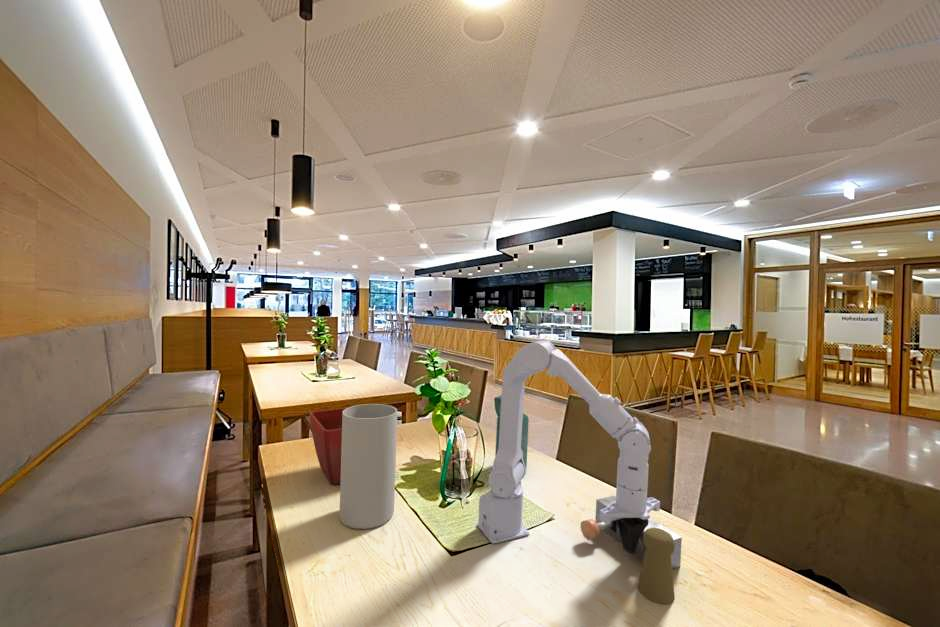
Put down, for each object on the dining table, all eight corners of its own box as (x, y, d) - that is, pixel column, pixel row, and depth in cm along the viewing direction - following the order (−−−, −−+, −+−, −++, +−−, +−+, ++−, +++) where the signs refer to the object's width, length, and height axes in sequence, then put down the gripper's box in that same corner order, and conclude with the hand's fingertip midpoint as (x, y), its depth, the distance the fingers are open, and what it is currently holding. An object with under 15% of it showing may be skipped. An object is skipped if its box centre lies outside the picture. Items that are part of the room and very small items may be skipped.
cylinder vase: (404, 509, 95) (407, 408, 95) (371, 536, 84) (374, 422, 83) (363, 497, 100) (366, 401, 100) (327, 521, 89) (330, 413, 88)
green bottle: (528, 466, 123) (531, 398, 123) (517, 476, 116) (520, 403, 116) (501, 459, 129) (504, 393, 128) (488, 467, 121) (491, 398, 121)
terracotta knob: (591, 543, 83) (592, 526, 82) (580, 533, 86) (581, 517, 86) (616, 535, 86) (617, 519, 85) (604, 527, 89) (605, 511, 89)
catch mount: (660, 573, 76) (662, 543, 75) (595, 524, 92) (596, 499, 92) (680, 566, 78) (681, 537, 78) (612, 519, 94) (613, 495, 94)
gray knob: (639, 560, 77) (640, 542, 77) (625, 549, 81) (626, 532, 81) (664, 552, 80) (664, 535, 80) (649, 542, 84) (650, 525, 84)
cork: (679, 607, 67) (682, 545, 67) (642, 600, 68) (645, 539, 68) (668, 583, 73) (671, 525, 73) (634, 577, 74) (637, 520, 74)
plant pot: (391, 478, 112) (393, 420, 111) (323, 494, 101) (324, 430, 101) (368, 455, 128) (370, 404, 127) (307, 467, 117) (308, 412, 116)
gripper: (620, 499, 72) (616, 572, 72) (674, 487, 78) (670, 553, 78) (593, 483, 78) (590, 549, 78) (645, 472, 84) (642, 534, 84)
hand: (628, 550), depth 79 cm, fingers closed
